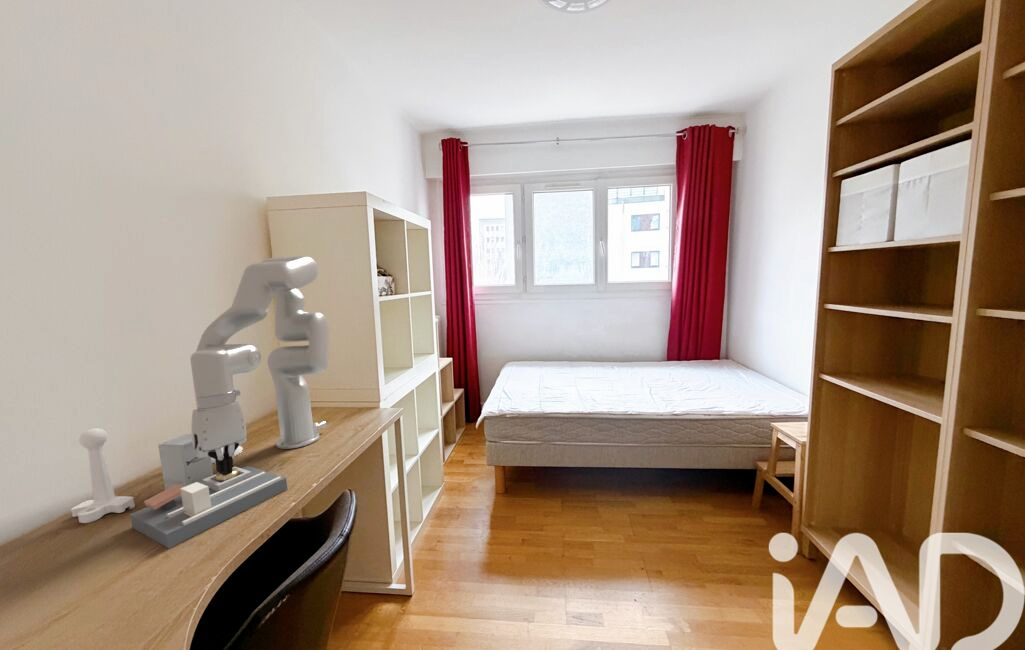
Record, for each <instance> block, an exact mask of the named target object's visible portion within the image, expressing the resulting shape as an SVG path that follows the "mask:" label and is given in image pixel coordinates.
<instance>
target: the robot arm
mask: <svg viewBox="0 0 1025 650" xmlns="http://www.w3.org/2000/svg"><path fill="white" fill-rule="evenodd" d="M318 273H319V268H318V264H317V262H316V260H314V259H313V258H312V257H310V256H307V255H305V256H304V255H298V256H280V257H279V256H276V257H270V258H266V259H263V260H262V261H261V262H255V263H252V264H250V265H247V266H246V267H245V269H244V270H243V273H242V276H241V279H240V281H239V285H238V286H237V287H238V288H237V289H236V290H237V291H236V292H235V295H234V299H233V301H232V304H231V306H230V307H229V308H228V309H226V310H225V311H224V312H222V313H221V314H220V315H219V316H218V317H216V318H215V320H213V321H212V322H211V323H210V324H209V325H208V326H207V327H206V328H205V330H204V331H203V333H202V335H201V336H200V338H199V343H198V345H197V347H196V350H195V352H193V353H192V354H191V355H190V366H191V374H192V380H193V381H192V383H193V387H194V388H193V389H194V396H195V404H196V408H195V409H193V410H192V414H191V434H192V445H193V448H194V449H196V457H198V458H204V457H212V458H213V459H215V461H216V464H215V467H216V473H218V472H219V473H220V474H223V475H227V474H228V473H232V472H233V470H232V468H233V467H234V460H233V459H234V458H232V456H233V455H234V452H235V450H236V449H237V448H238V446H242V445H243V444H245V443H246V442H247V441H248V439H247V427H246V422H245V416H244V413H243V410H242V407H241V405H240V402H239V401H238V400H237V397H238V396H240V395H241V391H240V390H238V389H237V390H236V389H235V385H234V379H233V375H236V374H237V375H238V374H244V373H249V372H252V371H254V370H255V369H256V368H258V366H259V365H260V363H261V360H262V354H261V351H260V350H259V348H257V346H255V345H252V344H249V343H237V344H234V343H233V344H231V343H230V344H226V343H227V342H228V341H229V339H230V338H231V337H233V336H234V335H236V334H237V333H238V332H239V331H243V329H246V328H249V327H250V326H252V325H256V324H257V323H259V322H261V321H262V320H264V319H265V318H266V317H267V316H268V313H269V309H270V307H271V301H272V299H273V297H274V302H275V304H274V305H275V307H274V308H275V310H274V312H275V313H274V334H275V337H276V338H275V339H277V340H278V341H280V342H285V343H298V342H299V343H300V342H308V344H307V345H288V346H287V345H286V346H280V347H276V348H274V349H273V350H271V351H270V353H269V354H268V356H267V367H268V370H269V373H270V375H271V376H270V377H271V378H272V382H273V386H274V387H273V388H274V393H275V402H276V410H277V418H278V425H279V433H280V437H279V438H278V439H277V440H276V442H275V446H276V448H278V449H280V450H281V449H283V450H284V449H285V450H287V449H290V450H291V449H296V448H301V447H304V446H308V445H311V444H312V443H314V442H316V441H317V440H319V439H320V433H319V430H320V429H323V428H325V427H327V425H328V424H327V422H326V421H321V422H319V423H318V421H316V422H313V415H312V407H311V406H312V405H311V396H310V387H309V384H308V382H307V381H306V379H305V378H304V377H303V376H310V375H312V376H314V375H320V374H323V373H324V372H326V370H327V368H328V365H329V355H330V353H329V351H330V349H329V348H330V345H329V344H330V327H329V322H328V319H327V317H326V316H325V314H323V313H321V312H319V311H306V299H305V296H304V294H303V293H302V291H301V290H300V288H303V287H306V286H308V285H309V284H312V283H313V282H314V281H315V280H316V279H317V277H318ZM221 447H223V453H222V450H221Z"/></svg>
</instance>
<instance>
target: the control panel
mask: <svg viewBox="0 0 1025 650" xmlns="http://www.w3.org/2000/svg"><path fill="white" fill-rule="evenodd" d="M233 468H237V469H238V476H236V477H233V478H231V479H229V480H226V481H224V482H222V483H220V482H217V481H216V474H217V473H215V474H213V476H210V477H208V478H205V479H203V480H202V481H203V484H204V485H206V486H208V487H209V494H210V501H211V507H212V508H210V509H208V510H206V511H204V512H201V513H199V514H197V515H195V516H194V515H192V514H190V513H188V512H186V511H184V509H183V503H182V496H181V495H180V496H179V497H177V498H175V499H173V500H171V501H170V502H168V503H166V504H164V505H163V506H161V507H159V508H157V509H155V510H154V509H152V508H150V507H148V506H146V507H145V508H142V509H140V510H136V511H135V512H132V513H129V516H130V522H131V527H132V529H134V530H136V531H138V532H140V533H141V534H142V535H144V536H147V537H148V538H150V539H152V540H153V541H155V542H157V543H159V545H162V546H164V547H165V548H167V549H171V548H173V547H175V546H178V545H179V544H181V543H183V542H185V541H187V540H189V539H191V538H193V537H195V536H197V535H199V534H201V533H204V532H205V531H207V530H209V529H211V528H213V527H215V526H217V525H219V524H220V523H223V522H224V521H227V520H229V519H230V518H233V517H236V516H237V515H239V514H241V513H243V512H245V511H246V510H249V509H251V508H252V507H255V506H257V505H260V504H261V503H263V502H266V501H267V500H268V499H270V498H271V499H272V498H273V497H276V494H277V495H279V494H281V493H283V492H284V490H285V491H287V490H288V482H287V477H284V476H282V475H279V474H275V473H272V472H269V471H265V470H262V469H258V468H255V467H252V466H249V465H247V466H245V467H242V468H241V467H238V466H233ZM286 489H287V490H286ZM282 491H283V492H282ZM280 492H281V493H280ZM278 493H279V494H278ZM272 496H273V497H272Z"/></svg>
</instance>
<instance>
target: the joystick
mask: <svg viewBox="0 0 1025 650" xmlns="http://www.w3.org/2000/svg"><path fill="white" fill-rule="evenodd" d="M107 441H108V432H107V431H105V429H102V428H97V427H96V428H95V427H94V428H90V429H88V430H85V431H83V432H82V433H81V435H80V437H79V444H80V445H81V446H82V447H84V448H86V449H87V451H88V459H89V469H90V479H91V487H92V489H91V490H92V497H93V499H90V500H85V501H83V502H80V503H79V504H77V505H76V506H73V507H72V508H71V509H70V510H71V515H72V516H71V517H74V518H76V517H77V518H78V522H79V523H82V524H89V523H93V522H95V521H97V520H99V519H101V518H102V517H103V516H104V515H106V514H109V513H117V514H120V513H124V512H125V511H126V509H130V510H132V509H133V508H135V506H136V505H135V501H134V500H135V499H134V496H127V495H126V496H125V495H123V496H122V495H121V496H116V494H115V491H114V487H113V483H112V480H111V475H110V471H109V468H108V467H109V466H108V463H107V458H106V456H105V451H104V448H103V447H104V444H105V443H106V442H107Z"/></svg>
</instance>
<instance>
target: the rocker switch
mask: <svg viewBox="0 0 1025 650" xmlns="http://www.w3.org/2000/svg"><path fill="white" fill-rule="evenodd" d="M180 488H183V486H181V485H178V484H175V485H174V486H172V487H170V488H168V489H166V490H165V489H164V490H162V491H160V492H159V493H156V495H154V496H152V497H150V498H147V499H146V500H144V505H145V506H146V507H150V508H152V509H154V510H155V509H157V508H159V507H161V506H163V505H164V504H166V503H168V502H170V501H171V500H173V499H175V498H177V497H179V496H180V495H181V490H180Z"/></svg>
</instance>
